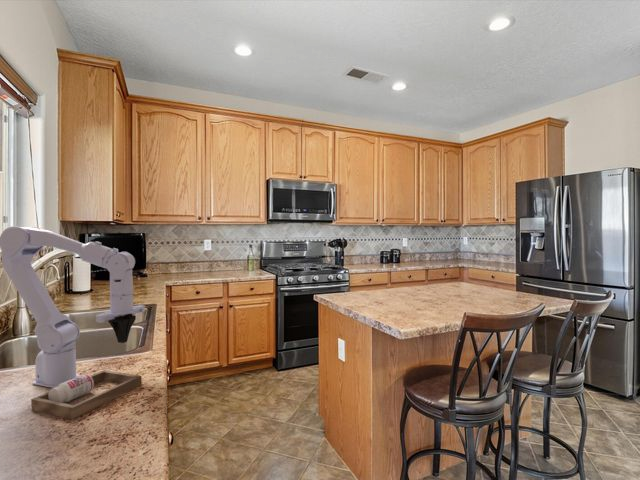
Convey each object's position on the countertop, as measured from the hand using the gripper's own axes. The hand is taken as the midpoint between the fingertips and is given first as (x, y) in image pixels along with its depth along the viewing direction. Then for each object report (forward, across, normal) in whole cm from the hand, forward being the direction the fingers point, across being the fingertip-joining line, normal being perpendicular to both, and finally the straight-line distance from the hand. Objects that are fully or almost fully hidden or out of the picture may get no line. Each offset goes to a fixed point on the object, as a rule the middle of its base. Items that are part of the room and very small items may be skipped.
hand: (122, 342), depth 100 cm
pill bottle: (+8, -10, 0) cm, 13 cm away
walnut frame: (+10, -12, -3) cm, 16 cm away
